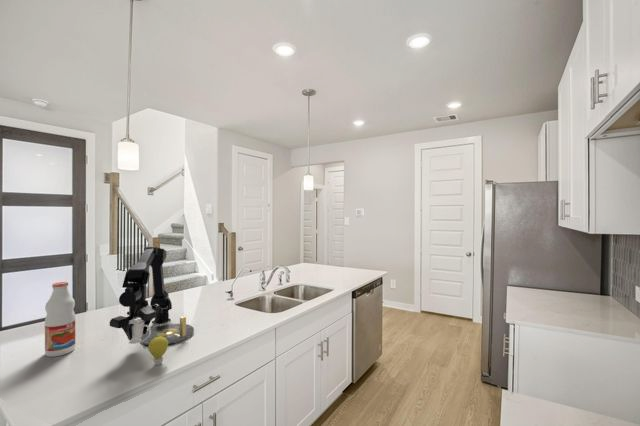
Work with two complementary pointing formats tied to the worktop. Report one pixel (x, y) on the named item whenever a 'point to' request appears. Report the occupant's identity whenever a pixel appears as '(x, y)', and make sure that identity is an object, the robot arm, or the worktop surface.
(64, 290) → the fruit juice
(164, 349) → the light bulb
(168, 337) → the turntable
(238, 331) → the worktop surface
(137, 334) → the cup
